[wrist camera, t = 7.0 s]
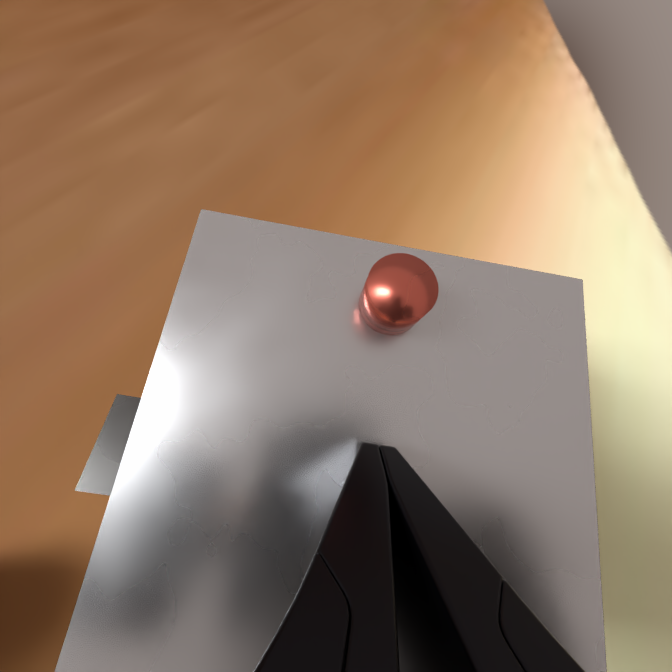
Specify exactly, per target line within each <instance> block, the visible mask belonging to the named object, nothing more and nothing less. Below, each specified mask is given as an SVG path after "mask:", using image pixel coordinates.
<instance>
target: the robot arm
mask: <svg viewBox="0 0 672 672" xmlns="http://www.w3.org/2000/svg"><path fill="white" fill-rule="evenodd" d="M502 580H503V578H502V575H501V574H500V573H499V572H498V570H497V569H496V568H495V567H494V566H493V564H492V563H491V562H490V561H489V560H488V558H487V557H486V556H485V555H484V554H483V552H482V551H481V550H480V549H479V548H478V546H477V545H476V544H475V543H474V542H473V540H472V539H471V538H470V537H469V535H468V534H467V533H466V532H465V531H464V529H463V528H462V527H461V526H460V525H459V523H458V522H457V521H456V520H455V519H454V517H453V516H452V515H451V514H450V513H449V511H448V510H447V509H446V508H445V507H444V505H443V504H442V503H441V502H440V500H439V499H438V498H437V497H436V496H435V494H434V493H433V492H432V491H431V490H430V488H429V487H428V486H427V485H426V484H425V482H424V481H423V480H422V479H421V478H420V476H419V475H418V474H417V473H416V472H415V470H414V469H413V468H412V467H411V465H410V464H409V463H408V462H407V461H406V459H405V458H404V457H403V456H402V455H401V453H400V452H399V451H398V450H397V449H396V448H395V447H393V446H386V445H379V446H378V445H377V444H374V443H367V442H362V443H361V445H360V447H359V450H358V452H357V454H356V457H355V459H354V461H353V464H352V466H351V468H350V471H349V473H348V475H347V478H346V480H345V483H344V485H343V487H342V490H341V492H340V494H339V497H338V499H337V501H336V504H335V506H334V509H333V511H332V513H331V516H330V518H329V520H328V523H327V525H326V527H325V530H324V532H323V535H322V537H321V539H320V542H319V544H318V546H317V549H316V552H315V554H314V555H313V558H312V560H311V562H310V565H309V567H308V569H307V572H306V574H305V576H304V578H303V581H302V583H301V585H300V587H299V589H298V591H297V593H296V596H295V598H294V600H293V602H292V604H291V606H290V607H289V609H288V611H287V613H286V615H285V617H284V618H283V620H282V622H281V624H280V626H279V628H278V629H277V631H276V633H275V635H274V637H273V638H272V640H271V642H270V644H269V645H268V647H267V649H266V650H265V652H264V654H263V656H262V657H261V659H260V661H259V662H258V664H257V666H256V668H255V669H254V671H253V672H585V671H584V670H583V668H582V667H581V666H580V665H579V664H578V663H577V662H576V661H575V660H574V659H573V657H572V656H571V655H570V654H569V653H568V652H567V651H566V650H565V649H564V648H563V646H562V645H561V644H560V643H559V642H558V641H557V640H556V639H555V638H554V637H553V635H552V634H551V633H550V632H549V631H548V630H547V628H546V627H545V626H544V625H543V624H542V623H541V621H540V620H539V619H538V618H537V617H536V616H535V614H534V613H533V612H532V611H531V610H530V609H529V607H528V606H527V605H526V604H525V603H524V602H523V600H522V599H521V598H520V597H519V596H518V594H517V593H516V592H515V591H514V590H513V588H512V587H511V586H510V585H509V584H508V582H507V581H505V580H503V581H502Z"/></svg>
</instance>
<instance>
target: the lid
mask: <svg viewBox="0 0 672 672" xmlns="http://www.w3.org/2000/svg"><path fill="white" fill-rule="evenodd" d="M362 442H367V443H374V444H377V445H378V446H379V445H386V446H393V447H395V448H396V449H397V450H398V451H399V452H400V453H401V455H402V456H403V457H404V458H405V459H406V461H407V462H408V463H409V464H410V465H411V467H412V468H413V469H414V470H415V472H416V473H417V474H418V475H419V476H420V478H421V479H422V480H423V481H424V482H425V484H426V485H427V486H428V487H429V488H430V490H431V491H432V492H433V493H434V494H435V496H436V497H437V498H438V499H439V500H440V502H441V503H442V504H443V505H444V507H445V508H446V509H447V510H448V511H449V513H450V514H451V515H452V516H453V517H454V519H455V520H456V521H457V522H458V523H459V525H460V526H461V527H462V528H463V529H464V531H465V532H466V533H467V534H468V535H469V537H470V538H471V539H472V540H473V542H474V543H475V544H476V545H477V546H478V548H479V549H480V550H481V551H482V552H483V554H484V555H485V556H486V557H487V558H488V560H489V561H490V562H491V563H492V564H493V566H494V567H495V568H496V569H497V570H498V572H499V573H500V574H501V575H502V578H503V580H505V581H507V582H508V584H509V585H510V586H511V587H512V588H513V590H514V591H515V592H516V593H517V594H518V596H519V597H520V598H521V599H522V600H523V602H524V603H525V604H526V605H527V606H528V607H529V609H530V610H531V611H532V612H533V613H534V614H535V616H536V617H537V618H538V619H539V620H540V621H541V623H542V624H543V625H544V626H545V627H546V628H547V630H548V631H549V632H550V633H551V634H552V635H553V637H554V638H555V639H556V640H557V641H558V642H559V643H560V644H561V645H562V646H563V648H564V649H565V650H566V651H567V652H568V653H569V654H570V655H571V656H572V657H573V659H574V660H575V661H576V662H577V663H578V664H579V665H580V666H581V667H582V668H583V670H584V671H585V672H607V669H606V653H605V636H604V620H603V604H602V588H601V572H600V555H599V539H598V523H597V507H596V491H595V474H594V458H593V442H592V426H591V410H590V393H589V377H588V361H587V345H586V329H585V313H584V296H583V280H582V279H577V278H571V277H566V276H560V275H555V274H549V273H544V272H539V271H533V270H528V269H522V268H517V267H511V266H506V265H501V264H495V263H490V262H484V261H479V260H474V259H468V258H463V257H457V256H452V255H446V254H441V253H436V252H430V251H425V250H419V249H414V248H408V247H403V246H398V245H392V244H387V243H381V242H376V241H371V240H365V239H360V238H354V237H349V236H343V235H338V234H333V233H327V232H322V231H316V230H311V229H305V228H300V227H295V226H289V225H284V224H278V223H273V222H267V221H262V220H257V219H251V218H246V217H240V216H235V215H230V214H224V213H219V212H213V211H208V210H202V209H201V212H200V215H199V218H198V221H197V224H196V227H195V231H194V234H193V237H192V240H191V243H190V246H189V249H188V253H187V256H186V259H185V262H184V265H183V268H182V271H181V275H180V278H179V281H178V284H177V287H176V290H175V294H174V297H173V300H172V303H171V306H170V309H169V312H168V316H167V319H166V322H165V325H164V328H163V331H162V335H161V338H160V341H159V344H158V347H157V350H156V353H155V357H154V360H153V363H152V366H151V369H150V372H149V376H148V379H147V382H146V385H145V388H144V391H143V394H142V398H141V401H140V404H139V407H138V410H137V413H136V417H135V420H134V423H133V426H132V429H131V432H130V435H129V439H128V442H127V445H126V448H125V451H124V454H123V457H122V461H121V464H120V467H119V470H118V473H117V476H116V480H115V483H114V486H113V489H112V492H111V495H110V498H109V502H108V505H107V508H106V511H105V514H104V517H103V521H102V524H101V527H100V530H99V533H98V536H97V539H96V543H95V546H94V549H93V552H92V555H91V558H90V562H89V565H88V568H87V571H86V574H85V577H84V580H83V584H82V587H81V590H80V593H79V596H78V599H77V603H76V606H75V609H74V612H73V615H72V618H71V621H70V625H69V628H68V631H67V634H66V637H65V640H64V643H63V647H62V650H61V653H60V656H59V659H58V662H57V666H56V669H55V672H253V671H254V669H255V668H256V666H257V664H258V662H259V661H260V659H261V657H262V656H263V654H264V652H265V650H266V649H267V647H268V645H269V644H270V642H271V640H272V638H273V637H274V635H275V633H276V631H277V629H278V628H279V626H280V624H281V622H282V620H283V618H284V617H285V615H286V613H287V611H288V609H289V607H290V606H291V604H292V602H293V600H294V598H295V596H296V593H297V591H298V589H299V587H300V585H301V583H302V581H303V578H304V576H305V574H306V572H307V569H308V567H309V565H310V562H311V560H312V558H313V555H314V554H315V552H316V549H317V546H318V544H319V542H320V539H321V537H322V535H323V532H324V530H325V527H326V525H327V523H328V520H329V518H330V516H331V513H332V511H333V509H334V506H335V504H336V501H337V499H338V497H339V494H340V492H341V490H342V487H343V485H344V483H345V480H346V478H347V475H348V473H349V471H350V468H351V466H352V464H353V461H354V459H355V457H356V454H357V452H358V450H359V447H360V445H361V443H362ZM503 580H502V581H503Z"/></svg>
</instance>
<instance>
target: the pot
mask: <svg viewBox="0 0 672 672" xmlns="http://www.w3.org/2000/svg"><path fill="white" fill-rule="evenodd" d="M140 401H141V398H137V397H131V396H125V395H119V394H117V396H116V398H115V400H114V402H113V405H112V407H111V409H110V411H109V414H108V416H107V418H106V421H105V423H104V425H103V427H102V430H101V432H100V434H99V436H98V439H97V441H96V443H95V446H94V448H93V450H92V452H91V455H90V457H89V459H88V461H87V464H86V466H85V468H84V470H83V473H82V475H81V477H80V480H79V482H78V484H77V486H76V489H75V491H82V492H89V493H96V494H102V495H109V496H110V495H111V492H112V489H113V486H114V483H115V480H116V476H117V473H118V470H119V467H120V464H121V461H122V457H123V454H124V451H125V448H126V445H127V442H128V439H129V435H130V432H131V429H132V426H133V423H134V420H135V417H136V413H137V410H138V407H139V404H140Z"/></svg>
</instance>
